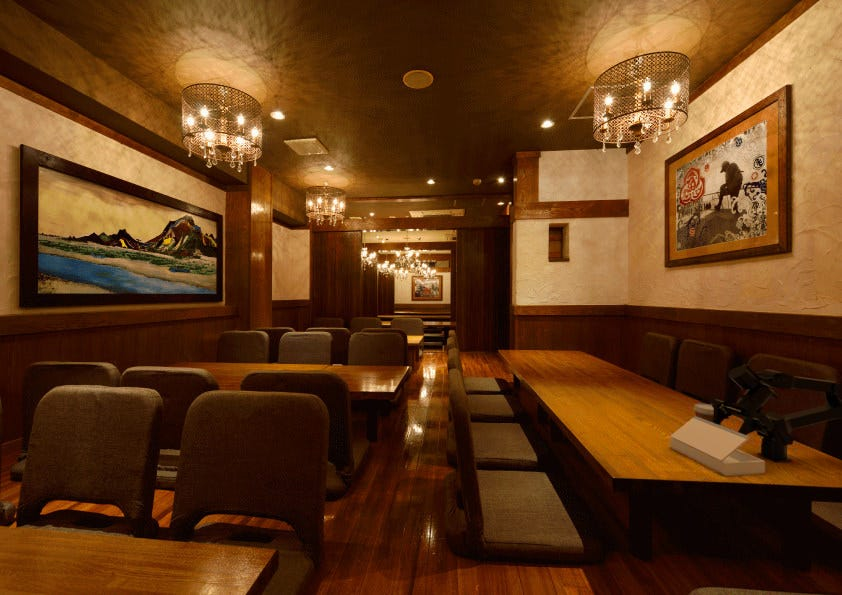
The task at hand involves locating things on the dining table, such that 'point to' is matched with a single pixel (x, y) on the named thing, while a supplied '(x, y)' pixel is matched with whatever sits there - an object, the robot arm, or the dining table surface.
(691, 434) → the flap
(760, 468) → the carton
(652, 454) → the dining table surface
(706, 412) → the disposable coffee cup
